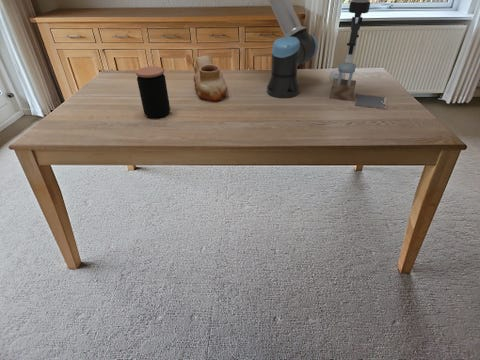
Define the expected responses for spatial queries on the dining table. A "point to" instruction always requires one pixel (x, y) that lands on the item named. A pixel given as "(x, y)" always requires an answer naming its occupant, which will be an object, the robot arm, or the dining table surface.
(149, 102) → the coffee jar
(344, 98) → the pedestal
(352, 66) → the stool
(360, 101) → the mat
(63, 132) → the dining table surface
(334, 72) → the geometric ball
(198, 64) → the ceramic vessel
